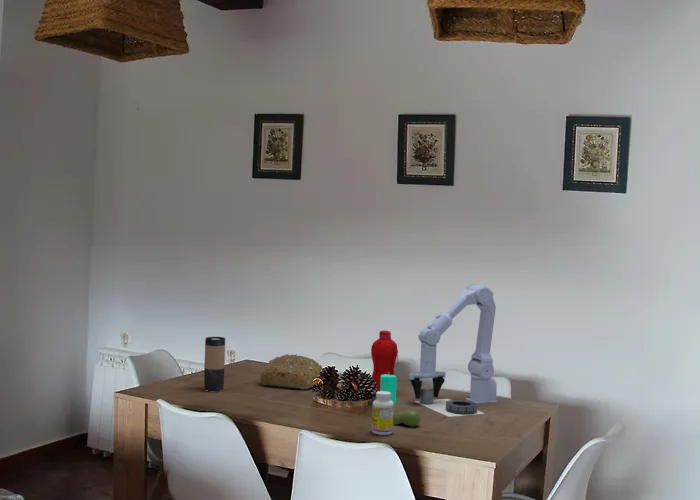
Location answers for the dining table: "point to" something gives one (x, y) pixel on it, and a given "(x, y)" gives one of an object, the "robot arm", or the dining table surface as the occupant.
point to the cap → (426, 396)
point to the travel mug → (214, 363)
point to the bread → (290, 372)
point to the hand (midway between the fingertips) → (426, 397)
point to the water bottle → (383, 356)
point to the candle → (389, 385)
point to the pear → (407, 418)
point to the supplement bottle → (382, 414)
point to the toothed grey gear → (461, 407)
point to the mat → (443, 407)
